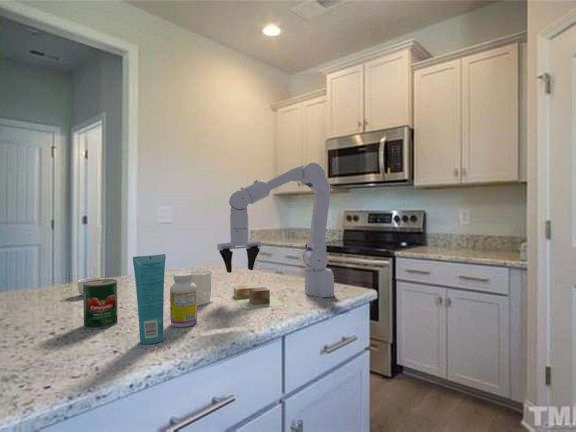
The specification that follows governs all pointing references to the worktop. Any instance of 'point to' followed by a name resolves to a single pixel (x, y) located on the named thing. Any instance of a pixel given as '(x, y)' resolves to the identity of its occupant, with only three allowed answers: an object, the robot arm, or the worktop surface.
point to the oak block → (241, 291)
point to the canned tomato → (100, 303)
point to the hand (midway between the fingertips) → (240, 271)
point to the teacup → (80, 282)
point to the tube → (150, 296)
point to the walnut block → (259, 295)
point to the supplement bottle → (183, 301)
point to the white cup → (202, 285)
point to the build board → (248, 305)
